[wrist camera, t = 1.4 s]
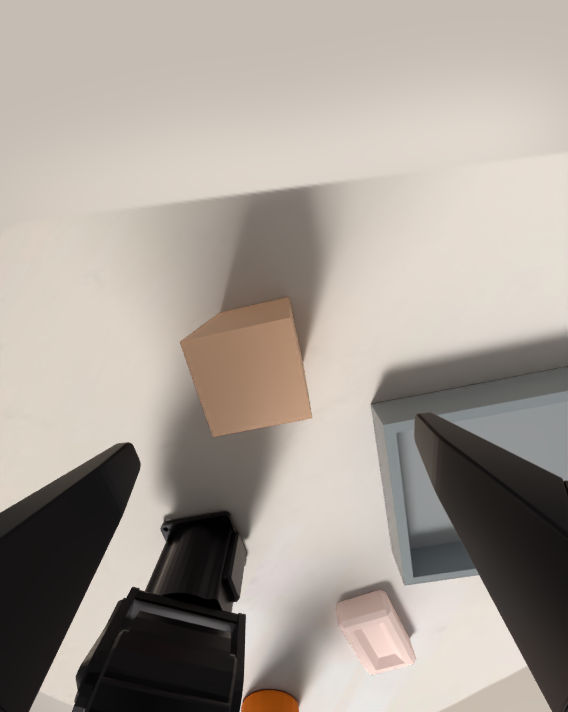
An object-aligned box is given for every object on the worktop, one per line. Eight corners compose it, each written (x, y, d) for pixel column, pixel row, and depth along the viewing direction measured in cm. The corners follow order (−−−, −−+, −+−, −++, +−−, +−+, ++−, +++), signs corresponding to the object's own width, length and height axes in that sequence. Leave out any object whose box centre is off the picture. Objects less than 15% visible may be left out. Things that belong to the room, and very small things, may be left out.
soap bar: (382, 584, 29) (390, 612, 27) (409, 636, 32) (419, 666, 29) (333, 599, 30) (337, 627, 27) (363, 649, 32) (369, 679, 30)
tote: (392, 551, 27) (404, 585, 24) (370, 404, 22) (383, 425, 19) (591, 521, 26) (630, 553, 23) (615, 357, 21) (667, 372, 18)
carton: (238, 376, 22) (212, 437, 14) (220, 312, 20) (179, 341, 13) (303, 362, 21) (312, 418, 14) (288, 296, 20) (290, 317, 12)
